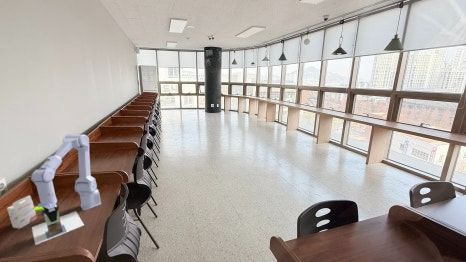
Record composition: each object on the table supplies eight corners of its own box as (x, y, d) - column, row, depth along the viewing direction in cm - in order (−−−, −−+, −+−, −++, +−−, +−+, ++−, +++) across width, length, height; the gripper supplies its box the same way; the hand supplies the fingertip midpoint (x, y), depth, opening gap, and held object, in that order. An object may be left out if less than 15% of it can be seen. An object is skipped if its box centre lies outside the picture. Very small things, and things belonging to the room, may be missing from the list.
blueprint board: (76, 211, 125) (76, 211, 125) (84, 225, 113) (84, 225, 113) (31, 228, 112) (31, 227, 112) (35, 245, 100) (35, 245, 100)
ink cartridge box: (30, 218, 120) (24, 193, 117) (37, 219, 119) (31, 194, 116) (12, 228, 112) (4, 202, 109) (19, 229, 111) (12, 203, 108)
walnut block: (61, 226, 112) (59, 218, 110) (62, 231, 108) (60, 222, 107) (48, 231, 108) (46, 223, 107) (49, 236, 105) (47, 227, 104)
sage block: (58, 216, 110) (56, 207, 109) (60, 220, 107) (58, 211, 106) (45, 221, 107) (43, 212, 106) (47, 225, 103) (44, 216, 102)
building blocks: (61, 202, 136) (59, 195, 135) (52, 213, 124) (50, 207, 123) (31, 206, 132) (29, 200, 131) (19, 219, 120) (17, 212, 119)
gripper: (34, 191, 106) (40, 216, 109) (37, 202, 96) (44, 229, 99) (52, 186, 110) (57, 210, 114) (57, 196, 101) (63, 222, 104)
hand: (52, 218), depth 107 cm, fingers closed on sage block, 5 cm apart
